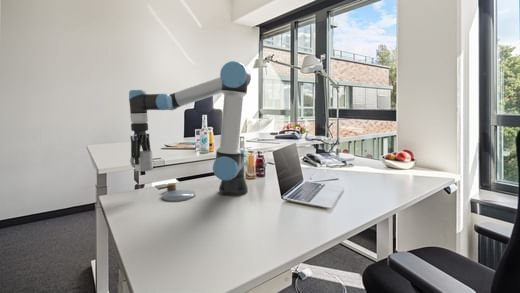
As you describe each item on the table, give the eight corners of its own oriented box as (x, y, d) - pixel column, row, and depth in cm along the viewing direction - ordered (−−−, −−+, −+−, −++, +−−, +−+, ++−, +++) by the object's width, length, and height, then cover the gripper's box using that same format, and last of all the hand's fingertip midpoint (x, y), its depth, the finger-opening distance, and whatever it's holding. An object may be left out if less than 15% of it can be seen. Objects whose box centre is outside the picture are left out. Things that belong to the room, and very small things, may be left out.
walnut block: (176, 190, 154) (175, 183, 153) (175, 192, 150) (174, 185, 149) (168, 190, 153) (168, 183, 152) (167, 192, 149) (167, 185, 148)
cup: (153, 170, 137) (152, 152, 136) (130, 172, 134) (129, 153, 132) (152, 167, 144) (151, 150, 143) (131, 169, 140) (130, 151, 139)
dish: (199, 192, 150) (199, 189, 150) (189, 201, 134) (188, 199, 134) (170, 191, 151) (169, 189, 151) (156, 200, 135) (156, 198, 135)
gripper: (142, 121, 147) (145, 165, 150) (119, 123, 127) (123, 173, 130) (156, 121, 146) (158, 165, 149) (135, 123, 126) (139, 173, 129)
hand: (142, 169), depth 139 cm, fingers closed on cup, 7 cm apart
